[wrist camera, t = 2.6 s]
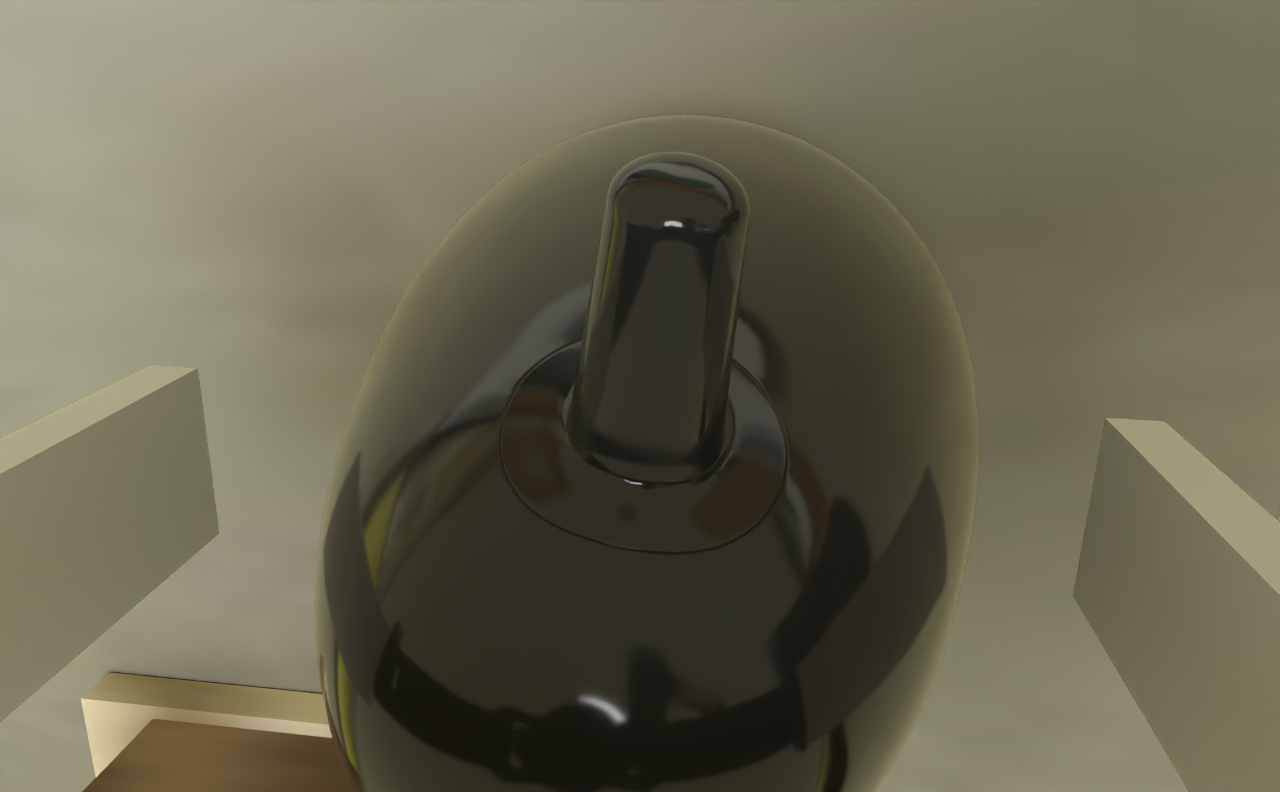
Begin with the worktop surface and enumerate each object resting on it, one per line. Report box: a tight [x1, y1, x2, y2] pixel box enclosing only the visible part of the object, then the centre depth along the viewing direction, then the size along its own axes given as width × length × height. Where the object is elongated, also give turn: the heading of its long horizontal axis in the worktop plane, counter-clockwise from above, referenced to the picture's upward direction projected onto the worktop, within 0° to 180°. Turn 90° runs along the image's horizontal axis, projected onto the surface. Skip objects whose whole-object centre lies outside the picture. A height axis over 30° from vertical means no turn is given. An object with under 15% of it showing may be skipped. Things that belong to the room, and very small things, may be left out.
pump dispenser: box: [315, 115, 979, 792], centre depth 15 cm, size 10×10×15 cm
